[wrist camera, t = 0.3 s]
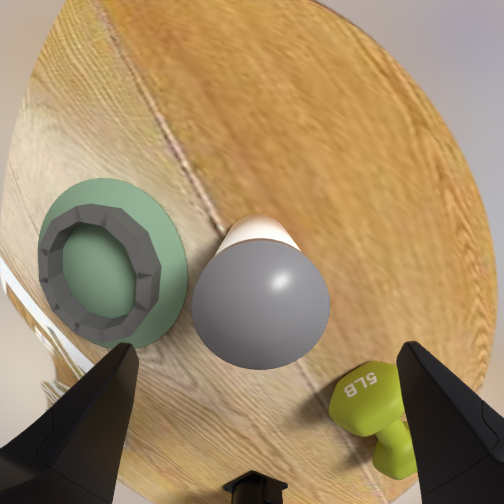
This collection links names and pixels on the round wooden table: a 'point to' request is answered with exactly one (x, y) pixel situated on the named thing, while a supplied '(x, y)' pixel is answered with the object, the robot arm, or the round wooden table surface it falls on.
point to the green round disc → (112, 263)
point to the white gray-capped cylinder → (260, 297)
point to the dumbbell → (376, 415)
